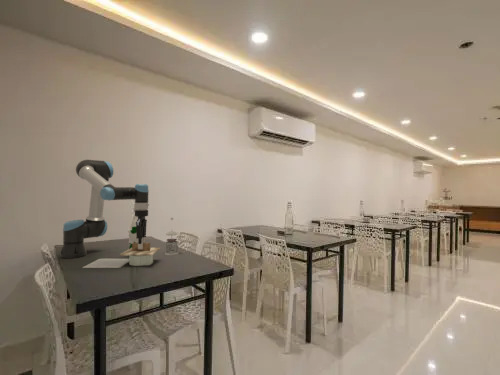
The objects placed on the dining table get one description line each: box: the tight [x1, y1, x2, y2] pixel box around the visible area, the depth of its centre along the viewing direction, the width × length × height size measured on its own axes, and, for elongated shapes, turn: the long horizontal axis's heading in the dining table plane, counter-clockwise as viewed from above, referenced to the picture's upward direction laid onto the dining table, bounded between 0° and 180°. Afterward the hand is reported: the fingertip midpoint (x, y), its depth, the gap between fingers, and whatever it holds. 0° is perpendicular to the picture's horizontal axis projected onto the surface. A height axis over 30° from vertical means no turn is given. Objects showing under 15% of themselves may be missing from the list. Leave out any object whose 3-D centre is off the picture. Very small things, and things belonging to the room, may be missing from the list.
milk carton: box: [127, 226, 138, 249], centre depth 195 cm, size 9×9×20 cm
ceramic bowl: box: [128, 254, 154, 267], centre depth 178 cm, size 13×13×6 cm
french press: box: [164, 217, 183, 256], centre depth 205 cm, size 10×12×25 cm
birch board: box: [119, 242, 161, 256], centre depth 178 cm, size 18×18×5 cm
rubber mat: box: [81, 258, 129, 269], centre depth 177 cm, size 21×21×1 cm
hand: (141, 248), depth 178 cm, fingers closed on birch board, 2 cm apart
